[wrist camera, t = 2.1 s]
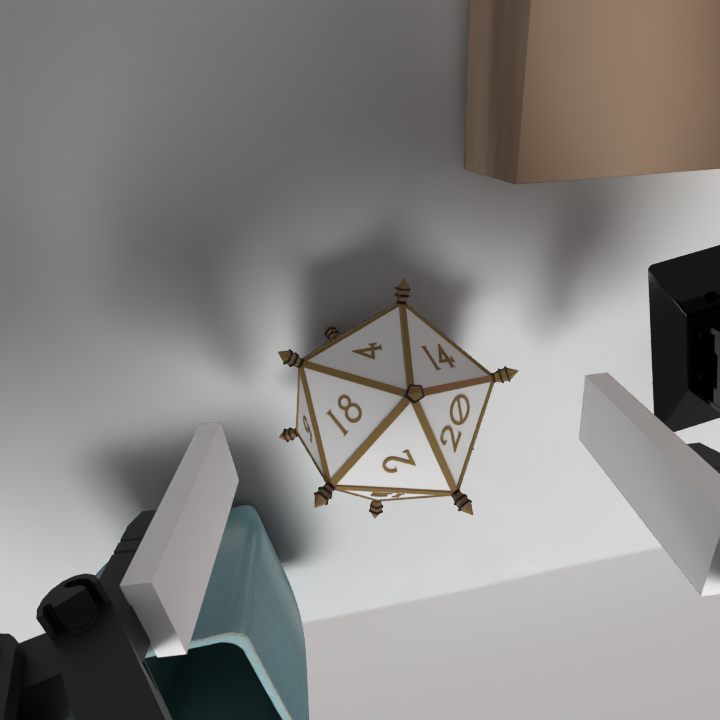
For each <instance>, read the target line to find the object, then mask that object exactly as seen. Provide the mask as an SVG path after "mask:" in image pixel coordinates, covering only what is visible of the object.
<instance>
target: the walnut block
mask: <svg viewBox="0 0 720 720" xmlns="http://www.w3.org/2000/svg"><path fill="white" fill-rule="evenodd" d="M708 169H720V0H470V3H469V34H468V65H467V96H466V128H465V159H464V170H468V171H471V172H475V173H478V174H482V175H485V176H489V177H492V178H496V179H499V180H503V181H506V182H510V183H513V184H527V183H540V182H553V181H566V180H579V179H592V178H605V177H618V176H631V175H644V174H656V173H669V172H682V171H695V170H708Z"/></svg>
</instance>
